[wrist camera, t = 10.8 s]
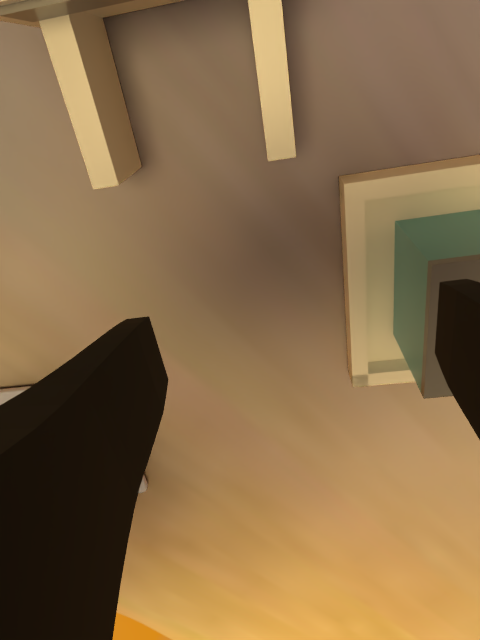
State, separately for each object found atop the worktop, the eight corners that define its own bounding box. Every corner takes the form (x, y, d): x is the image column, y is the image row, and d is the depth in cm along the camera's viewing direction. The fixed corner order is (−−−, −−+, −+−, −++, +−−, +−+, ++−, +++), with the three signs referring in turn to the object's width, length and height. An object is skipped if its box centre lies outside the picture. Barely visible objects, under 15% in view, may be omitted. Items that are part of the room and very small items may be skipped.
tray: (512, 354, 23) (527, 371, 22) (348, 370, 24) (352, 387, 23) (550, 144, 18) (572, 149, 17) (338, 176, 19) (344, 184, 18)
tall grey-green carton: (475, 325, 22) (527, 389, 17) (393, 334, 22) (423, 398, 18) (489, 207, 19) (556, 249, 15) (395, 221, 19) (431, 265, 15)
